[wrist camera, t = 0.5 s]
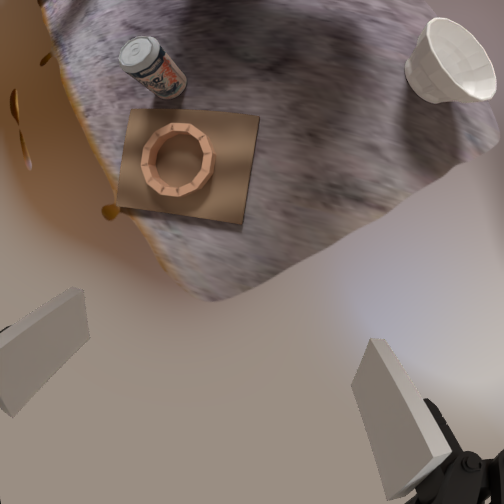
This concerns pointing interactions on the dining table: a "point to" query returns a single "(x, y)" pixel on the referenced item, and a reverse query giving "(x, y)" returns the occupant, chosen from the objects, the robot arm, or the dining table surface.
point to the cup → (450, 65)
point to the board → (190, 163)
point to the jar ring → (156, 143)
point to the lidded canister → (152, 67)
